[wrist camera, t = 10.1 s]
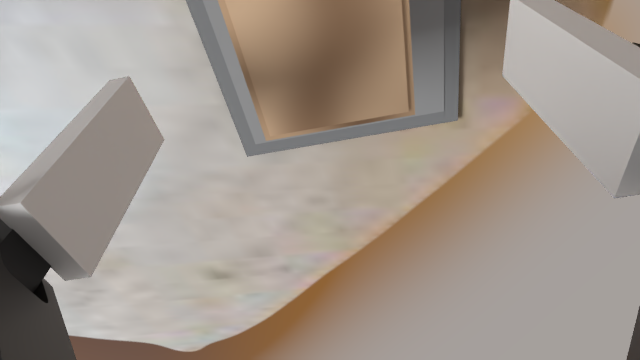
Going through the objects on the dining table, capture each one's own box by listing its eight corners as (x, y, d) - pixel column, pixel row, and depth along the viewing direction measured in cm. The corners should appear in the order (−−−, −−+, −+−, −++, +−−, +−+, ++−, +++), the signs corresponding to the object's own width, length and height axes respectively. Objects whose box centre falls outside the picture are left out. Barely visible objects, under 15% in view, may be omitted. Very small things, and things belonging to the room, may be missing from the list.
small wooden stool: (280, 66, 25) (265, 142, 18) (247, -56, 21) (210, -18, 14) (387, 45, 24) (415, 116, 17) (375, -87, 20) (406, -64, 13)
